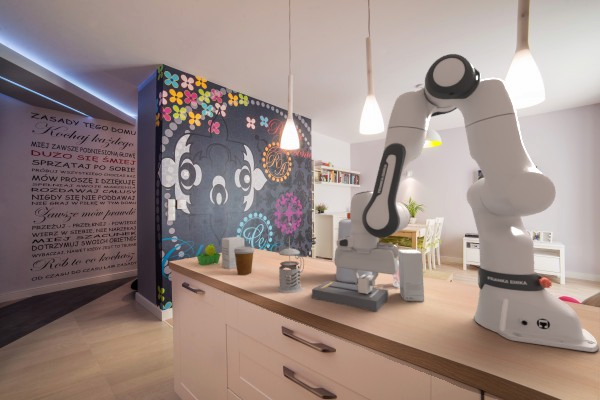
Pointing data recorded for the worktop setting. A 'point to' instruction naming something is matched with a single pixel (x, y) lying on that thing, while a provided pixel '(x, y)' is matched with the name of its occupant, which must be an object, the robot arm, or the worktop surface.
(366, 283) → the fader knob
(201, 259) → the fruit basket
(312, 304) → the worktop surface
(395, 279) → the beverage cup
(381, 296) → the fader console
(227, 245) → the supplement box
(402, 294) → the skincare box
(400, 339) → the worktop surface
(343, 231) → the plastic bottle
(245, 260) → the disposable coffee cup
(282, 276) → the french press
